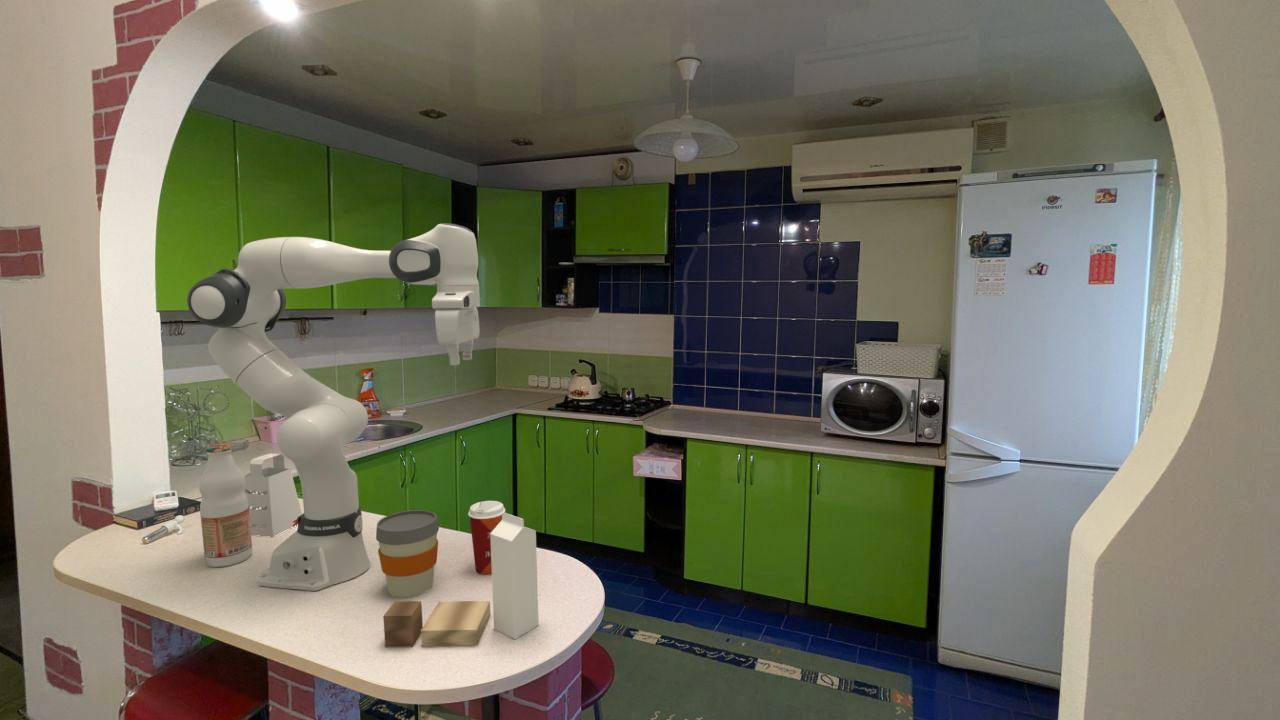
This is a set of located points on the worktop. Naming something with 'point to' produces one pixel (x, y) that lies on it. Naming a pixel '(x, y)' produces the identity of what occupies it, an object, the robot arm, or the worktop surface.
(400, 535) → the reusable coffee cup
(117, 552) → the worktop surface
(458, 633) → the oak plinth
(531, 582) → the milk
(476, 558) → the coffee cup
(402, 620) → the walnut cube
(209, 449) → the fruit juice
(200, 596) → the worktop surface
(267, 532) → the grater
